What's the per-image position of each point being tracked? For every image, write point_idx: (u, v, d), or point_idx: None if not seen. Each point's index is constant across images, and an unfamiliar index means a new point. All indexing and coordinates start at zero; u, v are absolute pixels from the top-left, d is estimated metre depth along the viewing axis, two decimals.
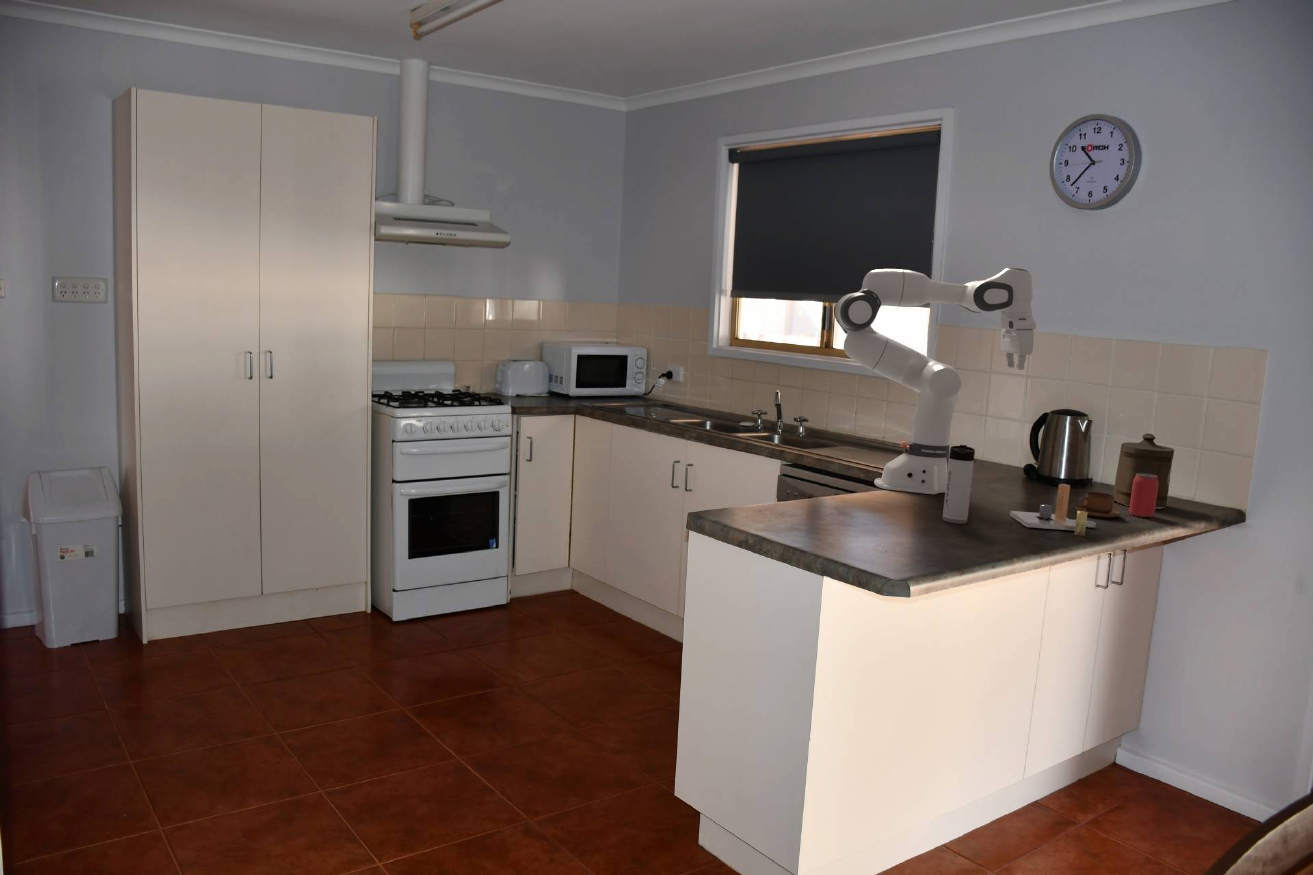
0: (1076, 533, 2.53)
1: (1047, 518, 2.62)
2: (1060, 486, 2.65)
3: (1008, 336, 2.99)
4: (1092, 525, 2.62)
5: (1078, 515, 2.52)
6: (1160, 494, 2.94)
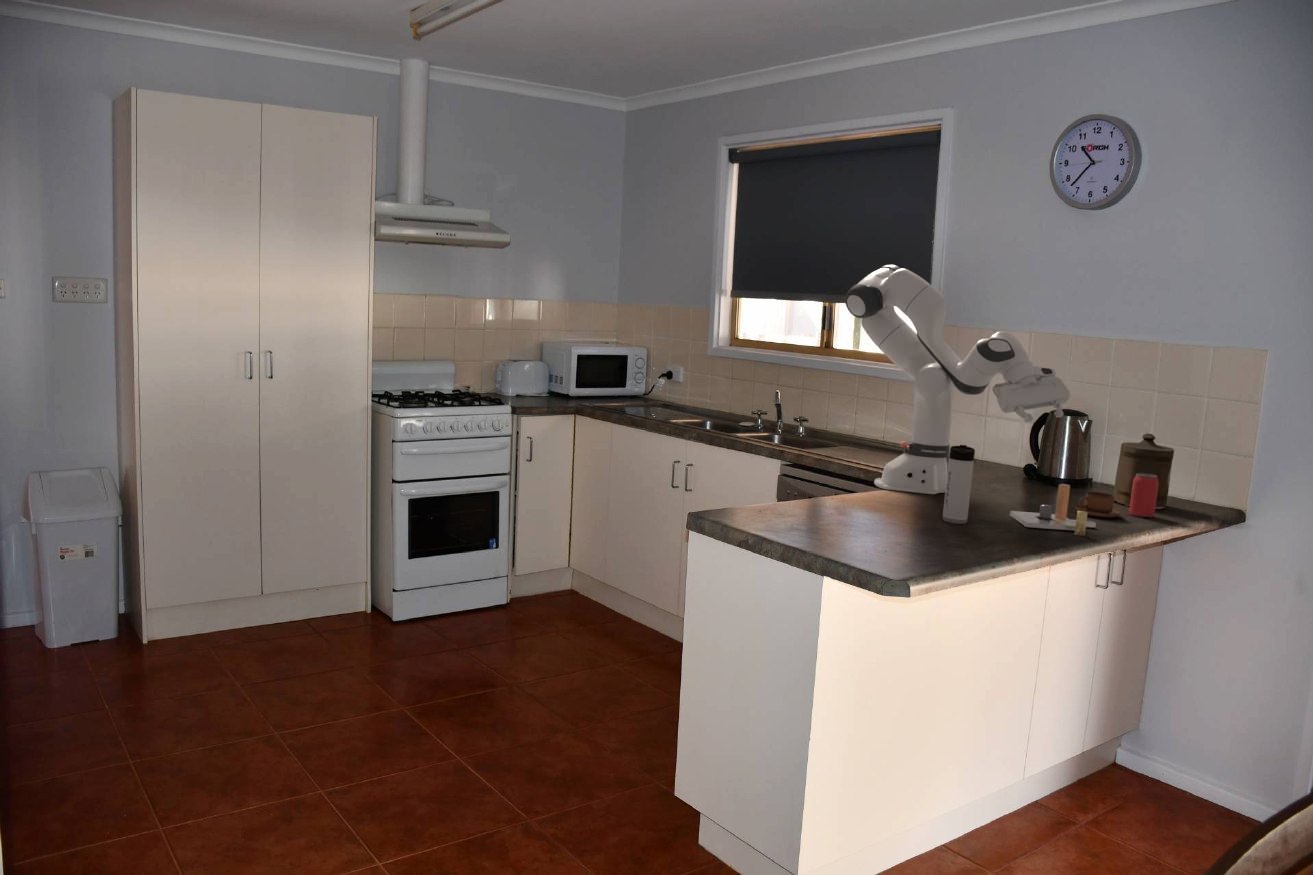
0: (1076, 533, 2.53)
1: (1047, 518, 2.62)
2: (1060, 486, 2.65)
3: (1024, 389, 2.76)
4: (1092, 525, 2.62)
5: (1078, 515, 2.52)
6: (1160, 494, 2.94)
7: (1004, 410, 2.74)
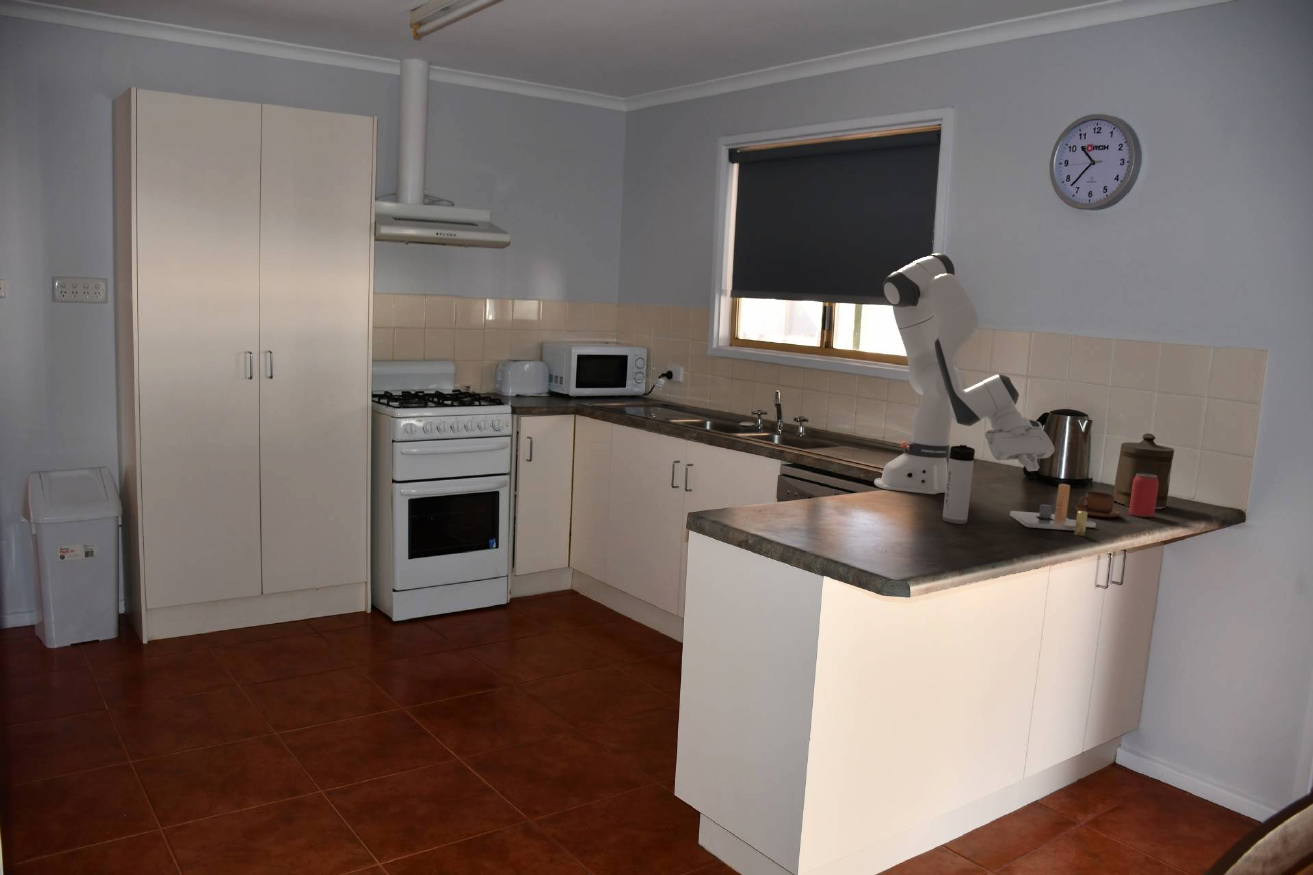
0: (1076, 533, 2.53)
1: (1047, 518, 2.62)
2: (1060, 486, 2.65)
3: (1014, 438, 2.76)
4: (1092, 525, 2.62)
5: (1078, 515, 2.52)
6: (1160, 494, 2.94)
7: (997, 457, 2.72)
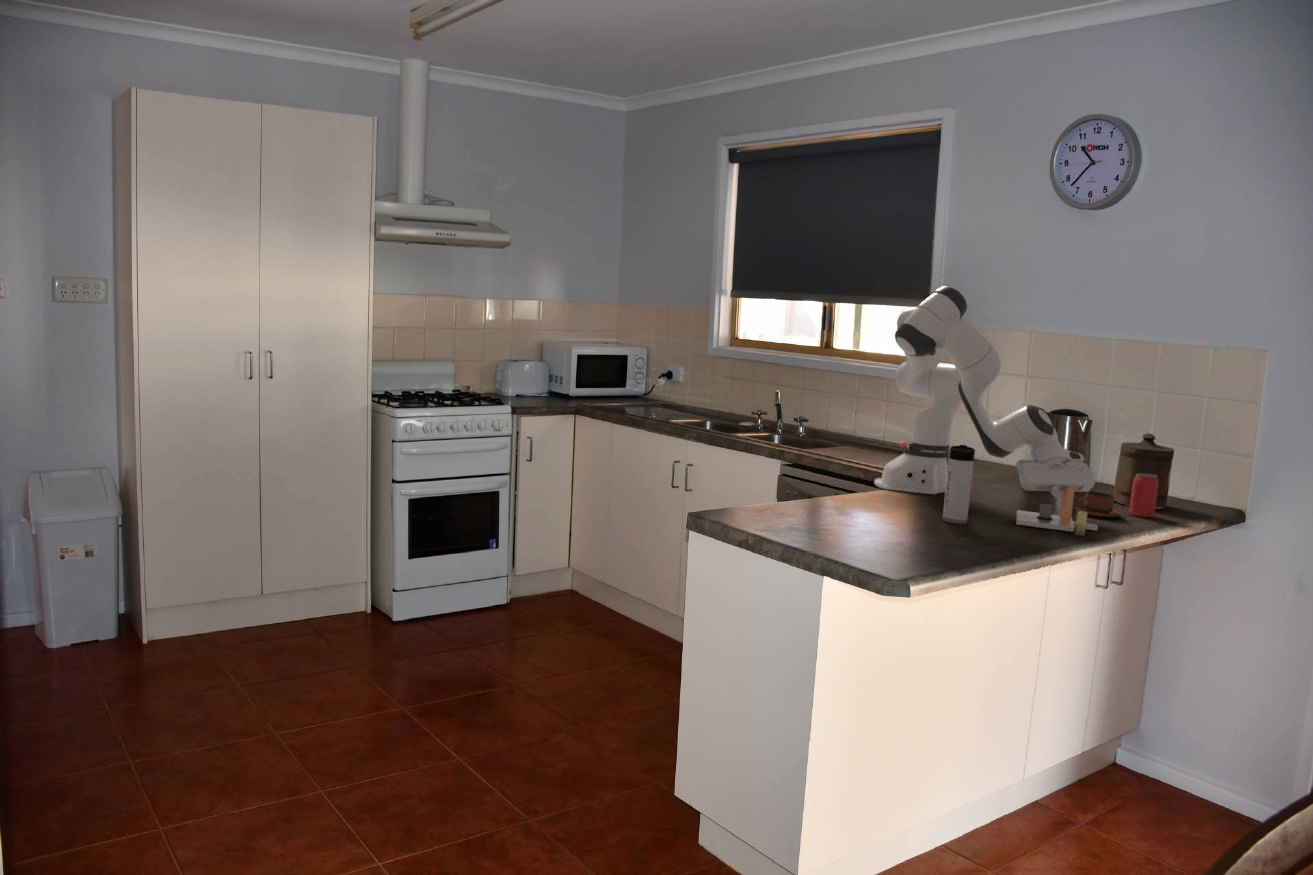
0: (1076, 533, 2.53)
1: (1047, 518, 2.62)
2: (1064, 487, 2.64)
3: (1048, 469, 2.70)
4: (1094, 528, 2.59)
5: (1078, 515, 2.52)
6: (1160, 494, 2.94)
7: (1024, 487, 2.68)
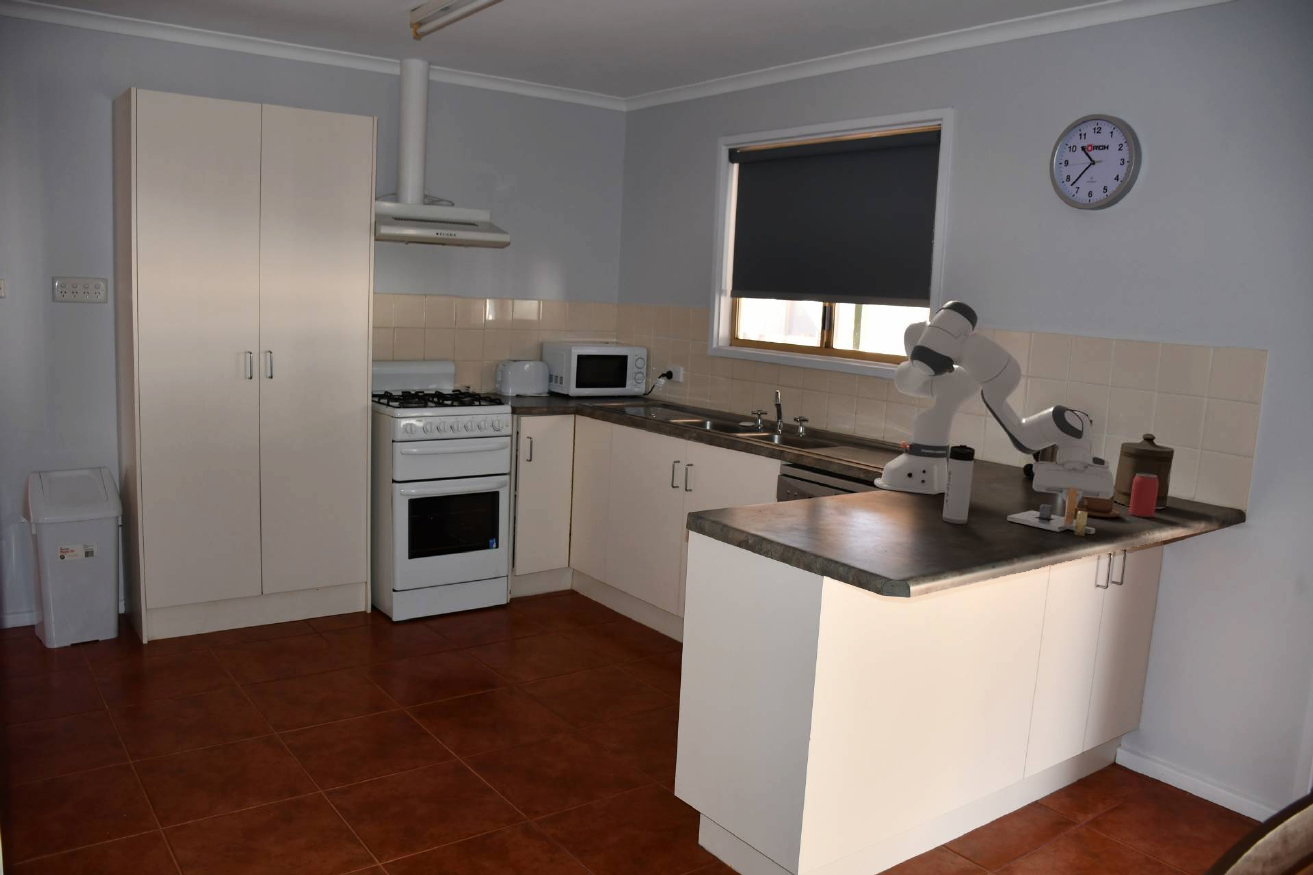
0: (1076, 533, 2.53)
1: (1047, 518, 2.62)
2: (1068, 489, 2.61)
3: (1064, 472, 2.68)
4: (1087, 531, 2.54)
5: (1078, 515, 2.52)
6: (1160, 494, 2.94)
7: (1033, 487, 2.69)
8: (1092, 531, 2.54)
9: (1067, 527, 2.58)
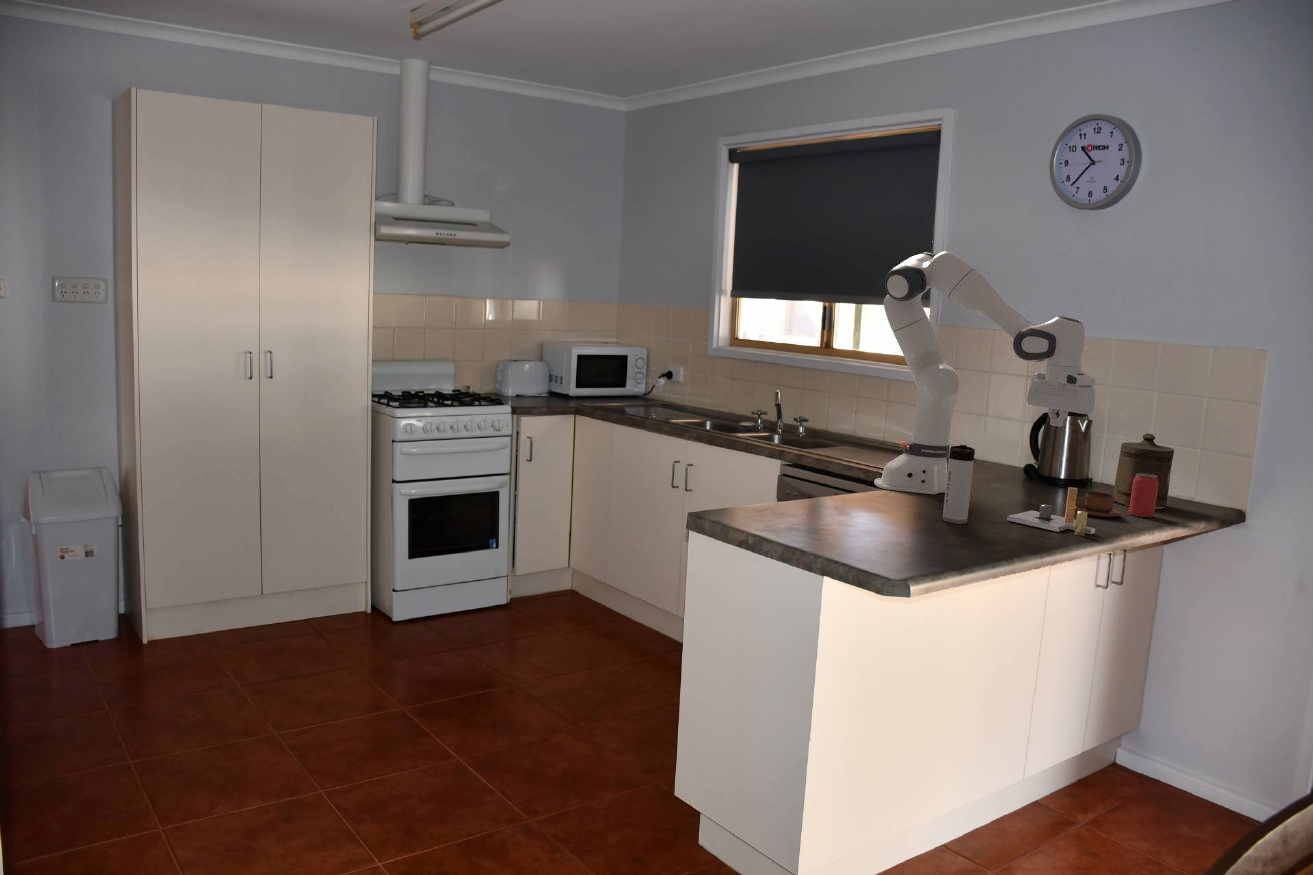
0: (1076, 533, 2.53)
1: (1047, 518, 2.62)
2: (1068, 489, 2.61)
3: (1049, 390, 2.74)
4: (1087, 531, 2.54)
5: (1078, 515, 2.52)
6: (1160, 494, 2.94)
7: None
8: (1092, 531, 2.54)
9: (1067, 527, 2.58)
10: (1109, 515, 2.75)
